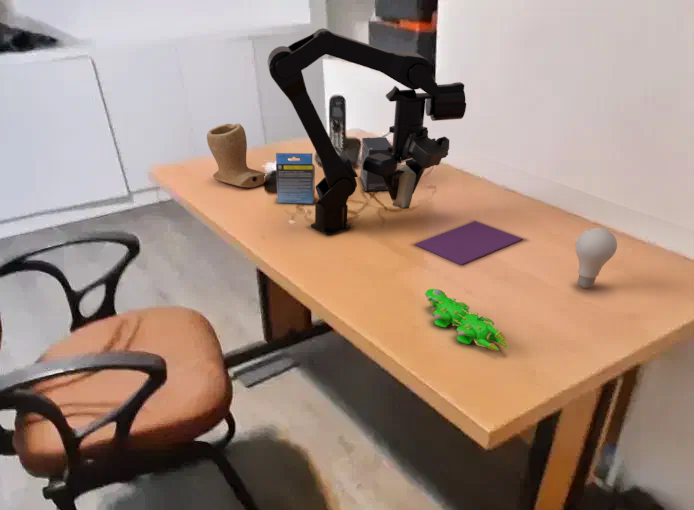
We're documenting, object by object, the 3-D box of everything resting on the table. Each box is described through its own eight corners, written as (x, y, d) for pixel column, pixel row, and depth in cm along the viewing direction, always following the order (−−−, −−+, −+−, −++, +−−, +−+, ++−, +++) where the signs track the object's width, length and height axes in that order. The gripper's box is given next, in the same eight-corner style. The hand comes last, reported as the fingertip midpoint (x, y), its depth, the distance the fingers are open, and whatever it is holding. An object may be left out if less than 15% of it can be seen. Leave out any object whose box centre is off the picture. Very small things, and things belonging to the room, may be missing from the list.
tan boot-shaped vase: (202, 182, 169) (196, 125, 160) (236, 171, 175) (232, 116, 166) (237, 195, 158) (233, 136, 150) (272, 183, 164) (270, 125, 156)
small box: (391, 190, 155) (394, 148, 149) (365, 192, 155) (367, 149, 149) (384, 176, 163) (387, 135, 157) (359, 177, 164) (361, 137, 158)
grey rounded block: (421, 204, 135) (424, 168, 131) (406, 211, 132) (409, 174, 128) (399, 198, 139) (401, 162, 134) (384, 205, 136) (386, 169, 132)
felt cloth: (461, 265, 120) (461, 264, 119) (415, 245, 128) (415, 243, 128) (522, 239, 127) (522, 238, 127) (475, 222, 136) (475, 221, 136)
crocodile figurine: (441, 300, 109) (444, 278, 107) (518, 351, 95) (524, 327, 93) (410, 309, 107) (412, 287, 105) (484, 363, 93) (488, 339, 91)
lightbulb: (571, 276, 113) (585, 219, 107) (608, 285, 110) (625, 226, 104) (560, 290, 110) (575, 231, 104) (598, 299, 106) (616, 240, 100)
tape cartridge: (315, 198, 153) (315, 148, 147) (313, 204, 150) (313, 153, 143) (279, 197, 156) (278, 148, 149) (276, 203, 152) (275, 153, 146)
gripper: (403, 139, 116) (397, 218, 125) (472, 120, 124) (462, 196, 132) (363, 128, 124) (359, 203, 133) (430, 111, 132) (422, 182, 140)
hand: (402, 196), depth 134 cm, fingers closed on grey rounded block, 5 cm apart
